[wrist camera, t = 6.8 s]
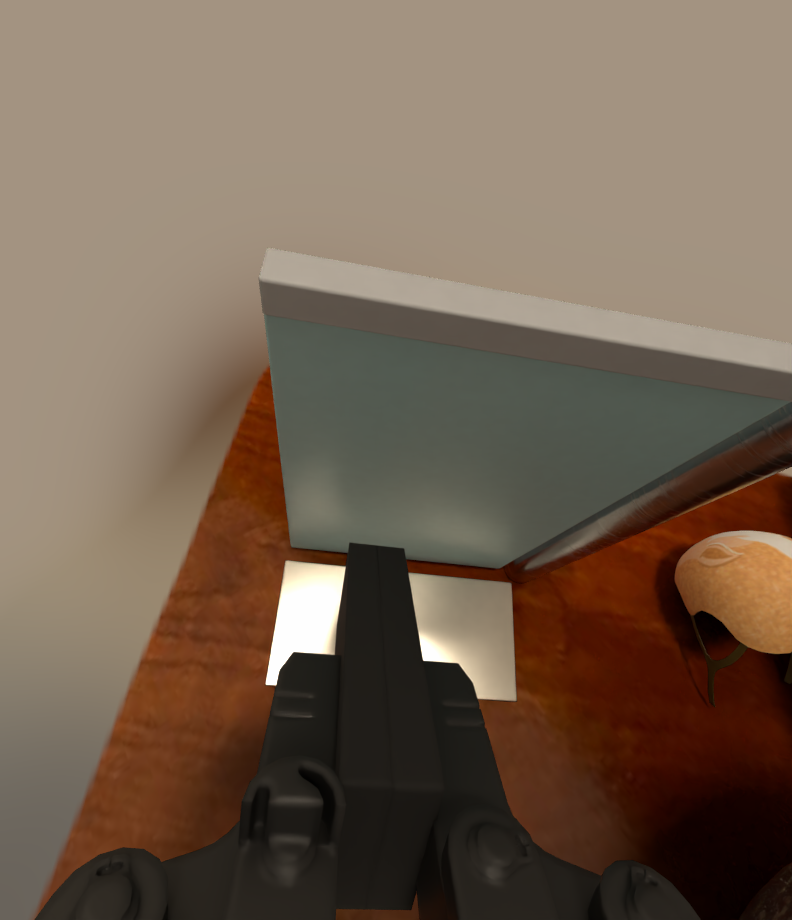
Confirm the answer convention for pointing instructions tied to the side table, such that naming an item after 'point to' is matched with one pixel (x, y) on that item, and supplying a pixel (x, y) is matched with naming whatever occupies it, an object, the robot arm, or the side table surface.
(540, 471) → the shower door
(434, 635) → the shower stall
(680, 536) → the side table surface
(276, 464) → the side table surface
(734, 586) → the helmet
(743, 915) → the planter
